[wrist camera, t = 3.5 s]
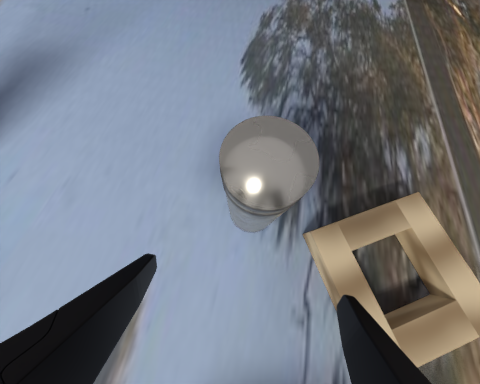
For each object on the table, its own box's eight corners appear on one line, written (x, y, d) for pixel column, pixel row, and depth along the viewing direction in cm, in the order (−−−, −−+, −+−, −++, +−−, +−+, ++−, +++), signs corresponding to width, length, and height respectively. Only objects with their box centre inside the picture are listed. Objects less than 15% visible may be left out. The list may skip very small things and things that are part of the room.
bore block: (473, 314, 19) (506, 323, 17) (361, 367, 18) (380, 385, 15) (399, 198, 23) (418, 192, 20) (302, 234, 21) (310, 231, 19)
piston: (281, 224, 22) (338, 186, 9) (237, 239, 21) (237, 221, 9) (264, 183, 23) (294, 104, 11) (223, 196, 23) (206, 130, 10)
